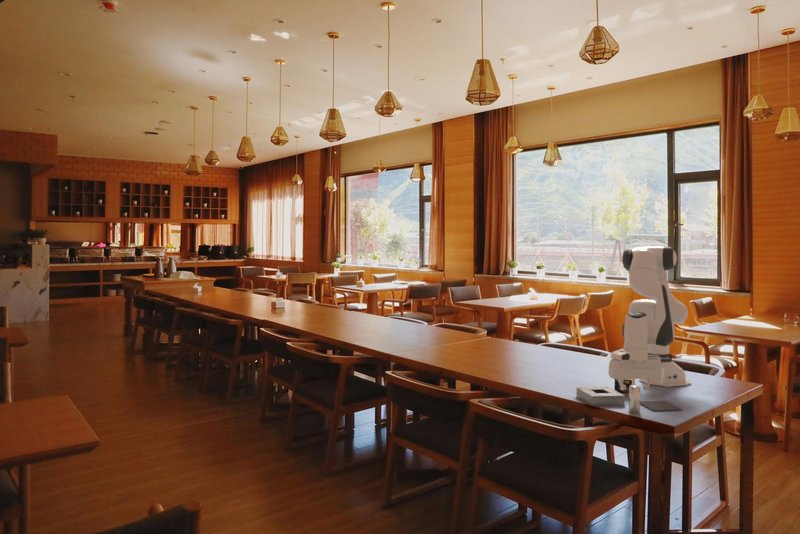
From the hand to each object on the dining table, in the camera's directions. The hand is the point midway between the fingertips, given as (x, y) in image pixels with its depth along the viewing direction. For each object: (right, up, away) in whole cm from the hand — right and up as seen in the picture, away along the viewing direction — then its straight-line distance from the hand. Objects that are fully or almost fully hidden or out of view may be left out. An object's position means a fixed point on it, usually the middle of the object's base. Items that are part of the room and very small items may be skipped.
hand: (634, 389), depth 215 cm
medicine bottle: (+8, -8, +29) cm, 31 cm away
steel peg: (0, -9, +1) cm, 9 cm away
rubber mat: (+13, -9, +8) cm, 18 cm away
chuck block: (-8, -8, +16) cm, 19 cm away
